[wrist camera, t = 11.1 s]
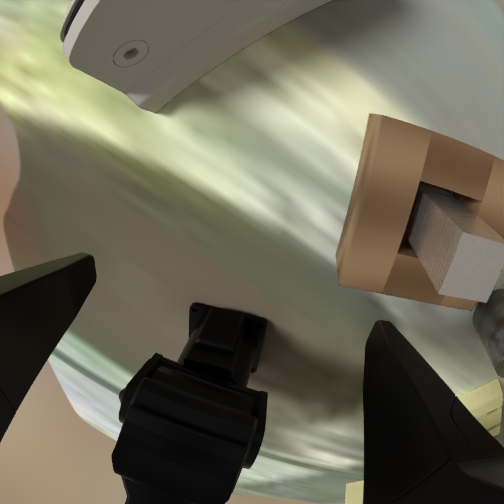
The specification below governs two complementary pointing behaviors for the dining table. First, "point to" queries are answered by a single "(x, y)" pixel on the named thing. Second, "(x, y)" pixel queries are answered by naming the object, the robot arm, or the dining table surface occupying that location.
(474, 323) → the cylinder
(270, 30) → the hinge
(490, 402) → the slatted curved stool
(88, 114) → the dining table surface
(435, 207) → the square bit
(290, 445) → the dining table surface
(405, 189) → the socket block
